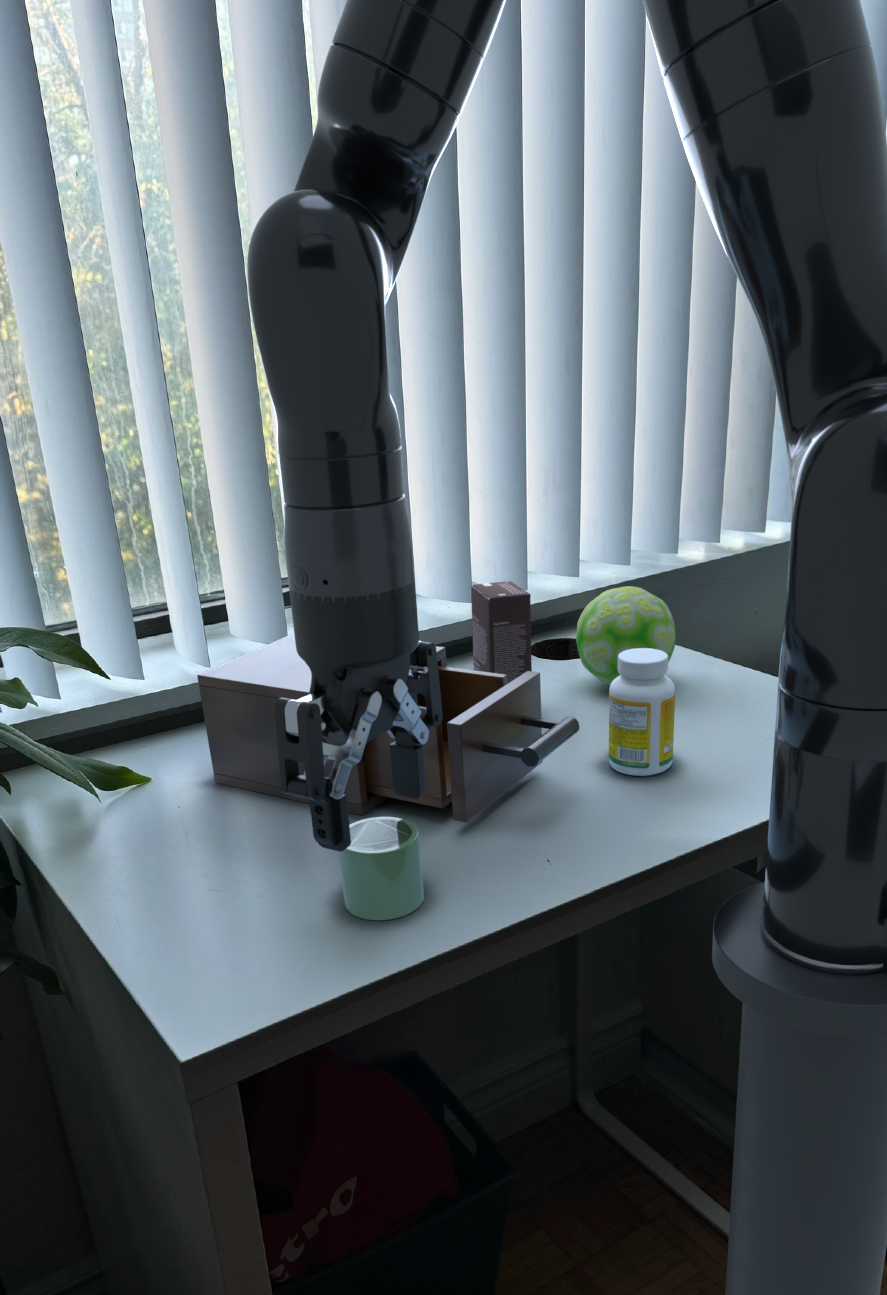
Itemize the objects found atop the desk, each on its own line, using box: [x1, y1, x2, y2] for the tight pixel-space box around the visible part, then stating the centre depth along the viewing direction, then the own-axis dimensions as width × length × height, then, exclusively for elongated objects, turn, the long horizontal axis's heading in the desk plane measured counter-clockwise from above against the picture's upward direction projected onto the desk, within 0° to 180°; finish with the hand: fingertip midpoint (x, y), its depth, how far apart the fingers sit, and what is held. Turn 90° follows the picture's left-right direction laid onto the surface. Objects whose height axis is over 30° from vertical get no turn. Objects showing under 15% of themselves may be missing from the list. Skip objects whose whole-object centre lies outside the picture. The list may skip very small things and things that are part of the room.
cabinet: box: [196, 632, 448, 816], centre depth 93 cm, size 16×14×10 cm
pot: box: [338, 816, 425, 921], centre depth 72 cm, size 5×5×5 cm
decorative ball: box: [575, 585, 677, 686], centre depth 107 cm, size 10×10×10 cm
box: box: [470, 580, 533, 683], centre depth 102 cm, size 6×4×12 cm
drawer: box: [363, 666, 580, 824], centre depth 86 cm, size 19×13×8 cm, turn 58°
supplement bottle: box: [608, 648, 676, 777], centre depth 89 cm, size 5×5×10 cm
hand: (373, 819), depth 71 cm, fingers open, 8 cm apart
